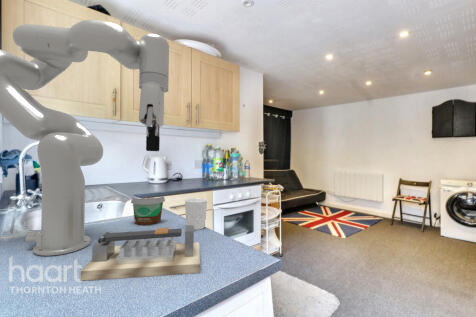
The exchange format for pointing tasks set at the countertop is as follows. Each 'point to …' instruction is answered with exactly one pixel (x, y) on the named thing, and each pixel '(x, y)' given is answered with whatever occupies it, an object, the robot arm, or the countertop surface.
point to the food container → (147, 210)
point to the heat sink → (143, 250)
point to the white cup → (196, 212)
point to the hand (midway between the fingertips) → (152, 150)
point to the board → (143, 266)
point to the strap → (140, 235)
